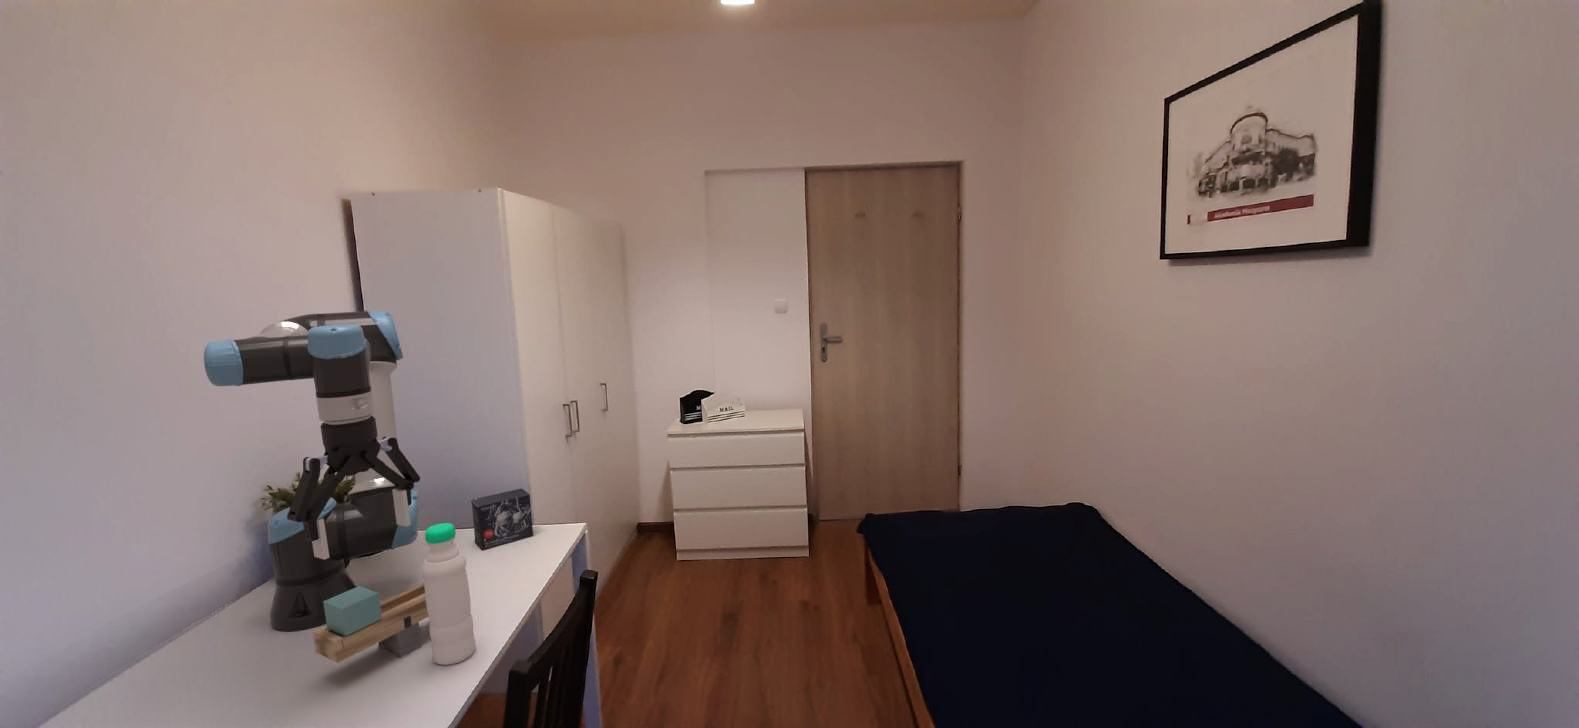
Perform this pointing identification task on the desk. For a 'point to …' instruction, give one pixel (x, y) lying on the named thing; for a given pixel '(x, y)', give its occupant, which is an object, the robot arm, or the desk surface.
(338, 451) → the robot arm
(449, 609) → the white bottle
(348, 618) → the block
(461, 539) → the desk surface
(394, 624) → the beam
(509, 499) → the small box
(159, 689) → the desk surface
